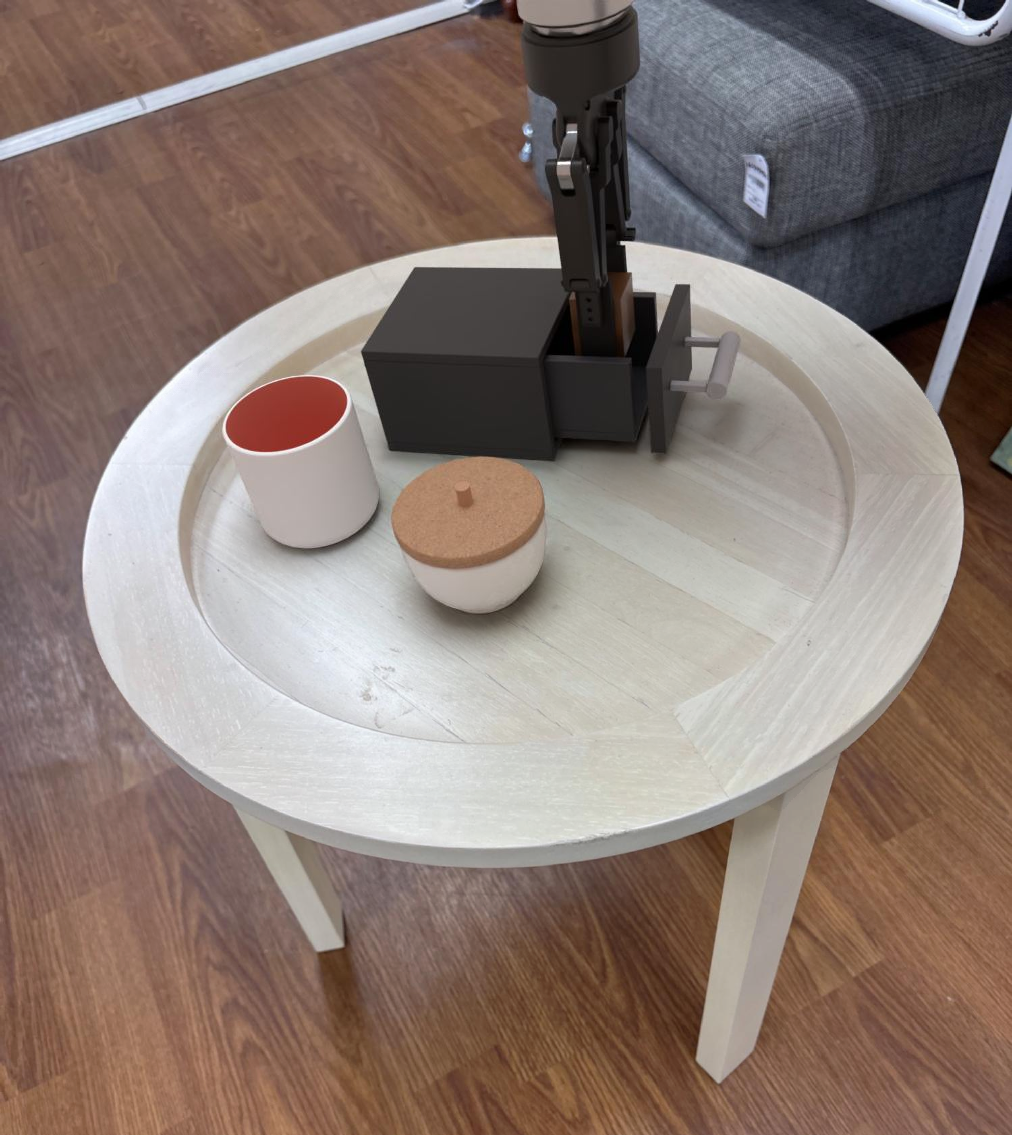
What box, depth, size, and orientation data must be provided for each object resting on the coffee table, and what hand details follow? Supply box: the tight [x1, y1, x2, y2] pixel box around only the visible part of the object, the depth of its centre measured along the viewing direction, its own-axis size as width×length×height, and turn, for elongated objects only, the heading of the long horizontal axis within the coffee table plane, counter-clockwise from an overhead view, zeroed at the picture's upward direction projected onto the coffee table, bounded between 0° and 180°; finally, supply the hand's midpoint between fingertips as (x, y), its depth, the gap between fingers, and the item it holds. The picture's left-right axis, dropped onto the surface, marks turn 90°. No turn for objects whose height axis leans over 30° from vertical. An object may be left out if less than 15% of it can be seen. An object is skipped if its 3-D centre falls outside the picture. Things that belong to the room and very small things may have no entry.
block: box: [569, 271, 635, 358], centre depth 83 cm, size 4×4×5 cm
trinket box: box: [390, 456, 548, 615], centre depth 76 cm, size 11×11×9 cm
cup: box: [221, 374, 380, 549], centre depth 84 cm, size 10×10×10 cm
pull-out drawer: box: [543, 283, 742, 455], centre depth 86 cm, size 18×12×8 cm, turn 73°
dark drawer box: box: [360, 266, 572, 462], centre depth 90 cm, size 15×13×10 cm
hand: (606, 339), depth 85 cm, fingers closed on block, 4 cm apart
